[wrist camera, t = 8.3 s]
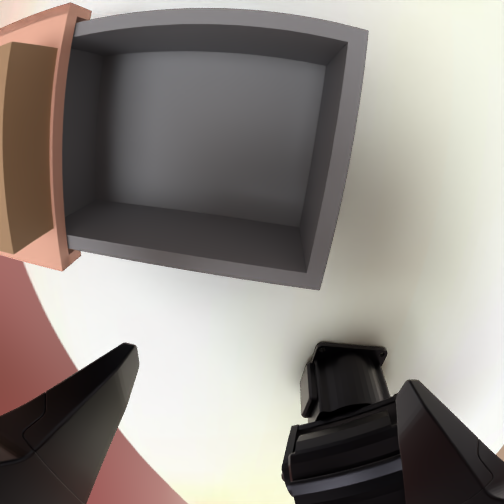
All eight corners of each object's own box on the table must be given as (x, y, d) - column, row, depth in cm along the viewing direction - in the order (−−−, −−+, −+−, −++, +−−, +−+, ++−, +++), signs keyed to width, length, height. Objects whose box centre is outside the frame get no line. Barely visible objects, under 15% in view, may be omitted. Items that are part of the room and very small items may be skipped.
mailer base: (338, 59, 16) (368, 30, 9) (307, 236, 21) (319, 290, 14) (101, 48, 16) (39, 33, 10) (92, 206, 21) (35, 241, 15)
